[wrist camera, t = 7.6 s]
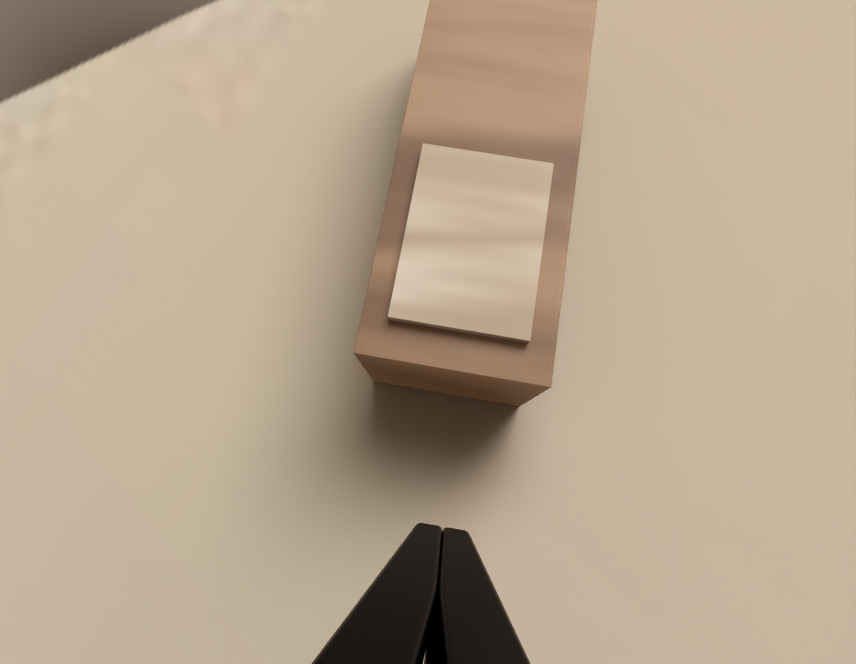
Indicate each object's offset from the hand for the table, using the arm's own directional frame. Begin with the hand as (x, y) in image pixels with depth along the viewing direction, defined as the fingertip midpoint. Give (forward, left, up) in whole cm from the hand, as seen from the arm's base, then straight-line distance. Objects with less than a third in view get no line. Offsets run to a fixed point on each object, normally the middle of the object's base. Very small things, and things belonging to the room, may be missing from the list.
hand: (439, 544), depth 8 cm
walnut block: (+3, -2, -6) cm, 7 cm away
